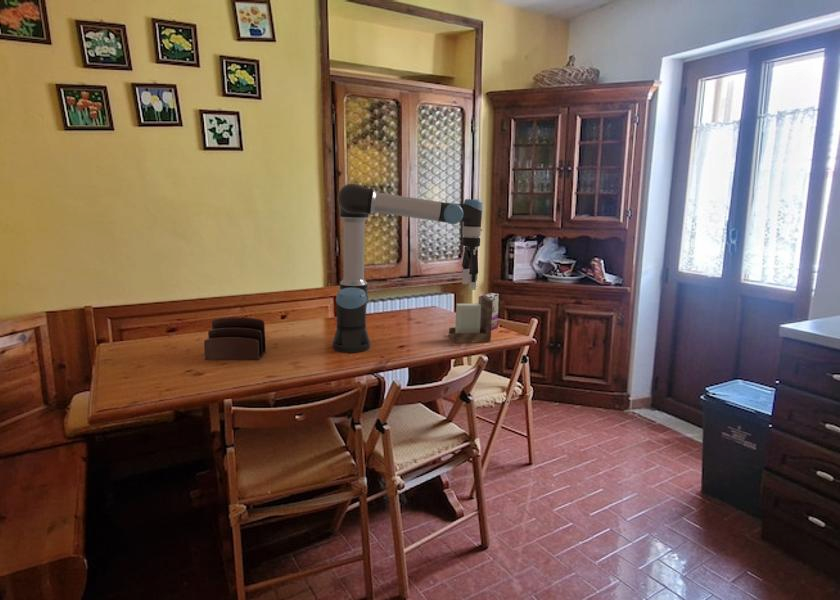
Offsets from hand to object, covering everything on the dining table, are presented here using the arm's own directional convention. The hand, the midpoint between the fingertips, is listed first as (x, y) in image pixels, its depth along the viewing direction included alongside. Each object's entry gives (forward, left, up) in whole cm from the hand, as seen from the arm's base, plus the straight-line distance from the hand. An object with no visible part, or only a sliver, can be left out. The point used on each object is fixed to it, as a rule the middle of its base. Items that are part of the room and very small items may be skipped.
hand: (468, 286), depth 217 cm
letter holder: (-93, -19, -23) cm, 97 cm away
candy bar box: (+13, +15, -23) cm, 31 cm away
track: (+1, 0, -23) cm, 23 cm away
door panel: (0, 0, -22) cm, 22 cm away
